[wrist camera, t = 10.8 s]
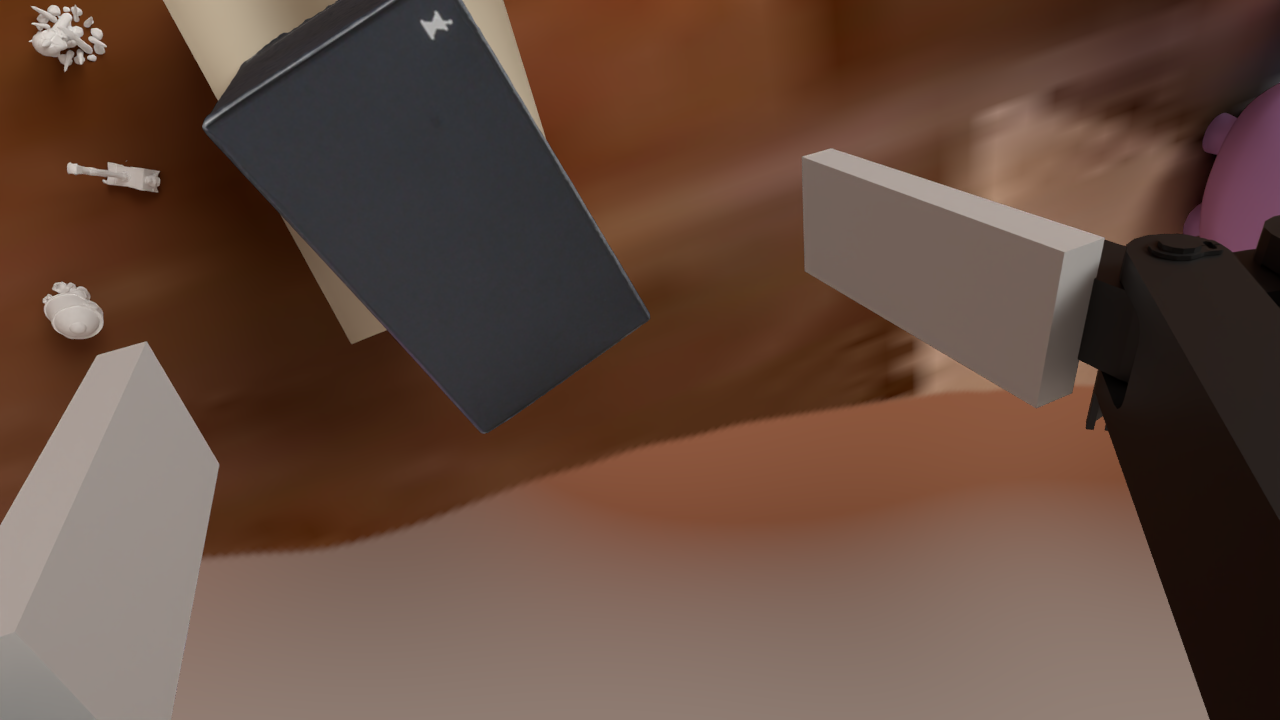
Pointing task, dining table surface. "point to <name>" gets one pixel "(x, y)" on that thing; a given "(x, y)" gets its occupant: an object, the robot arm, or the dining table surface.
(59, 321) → the game piece set
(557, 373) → the small box
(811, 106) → the dining table surface
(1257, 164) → the teapot
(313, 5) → the tower top block
